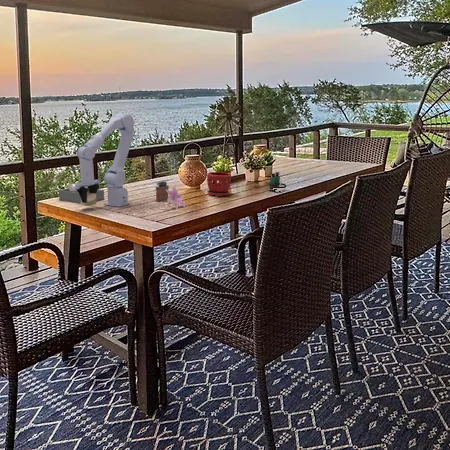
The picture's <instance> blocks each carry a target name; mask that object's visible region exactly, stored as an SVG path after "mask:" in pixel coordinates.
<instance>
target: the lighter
mask: <svg viewBox="0 0 450 450" xmlns="http://www.w3.org/2000/svg"><path fill="white" fill-rule="evenodd" d="M156 185H157V186H155V196H156V197H155V202H157V203H161V202H163V203H164V202H168V201H167V199H168V197H169V194H168V192H167V191H166V189H167V190H169V186H170V185H168V181H165V180H163V181H157V182H156Z"/></svg>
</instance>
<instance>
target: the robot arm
mask: <svg viewBox="0 0 450 450" xmlns="http://www.w3.org/2000/svg"><path fill="white" fill-rule="evenodd" d="M135 122H136V121H135V119H134V117H133V116H132V115H131V114H129V113H126V114H125V113H124V114H123V113H119V112H118V113H115V114H114V113H113V115H112V116H111V117H110V118H109V121H108V122H107V123H106V124H105V126H104V127H103V128H102V129H101V130H100V132H99V133H98V134H94V135H91V136H90V139H89V140H88V141H86V142H85V143H84V144H83V146H79V148H78V149H77V152H76V155H77V157H78V159H79V167H80V168H79V169H80V171H79V172H80V181H79V182H77V183H74V184H75V188H76V190H77V191H78V193H79V195H80V197H81V200H82V202H83V203H86V202H87V191H88V189H89V193H94V194H96V192H97V190H98V189H100V183H101V182H100V179H95V178H94V161H93V159H94V158H95V156H96V152H97V151H98V150H99V149H100V148H101V147H102V146H103V145H104V142H105V141H104V140H105V139H106V138H107V137H109V135H111V133H113V131H115V130H118V131H119V133H120V139H119V143H118V146H117V148H116V152H115V154H114V155H115V156H114V159H113V161H112V162H113V163H112V165H111V166H110V167H108V169H107V171H106V172H105V174H104V176H103V181H104V183H105V184H106V187H107V190H106V191H107V202H105V203H103V205H106V206H113V207H118V208H119V207H123V206H127V205H129V204H130V202H129V196H128V195H129V192H128V189H127V188H126V187H124V185H125V183H126V174H127V173H126V171H125V169H124V168H125V165H126V161H127V159H128V155H129V151H130V148H131V146H132V142H133V139H134V135H135V134H134V130H135V129H134V125H135ZM85 187H86V188H88V189H86V188H85Z"/></svg>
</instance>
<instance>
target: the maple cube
mask: <svg viewBox="0 0 450 450" xmlns="http://www.w3.org/2000/svg"><path fill="white" fill-rule="evenodd" d="M80 198H81V197H80ZM80 205H81V206H86V207H91V206H94V205H95V206H96V205H97V202H96V194H94V193H87V202H86V203H83V202H82V200H81V204H80Z"/></svg>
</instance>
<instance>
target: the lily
mask: <svg viewBox="0 0 450 450" xmlns="http://www.w3.org/2000/svg"><path fill="white" fill-rule="evenodd" d="M166 191H167V192H168V199H167V201H166V202H169V203H168V205H167V207H169V205H170V203H173V205H174V208H175V209H176V210H178V207H179V206H182V207H184V208H186V207H185V206H186V203H185V202H184V201H183V195H182V194H179V192H178V189H177V187H176V186H175V185H173V187H172V190H169V189H168V190H167V189H166Z"/></svg>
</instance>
